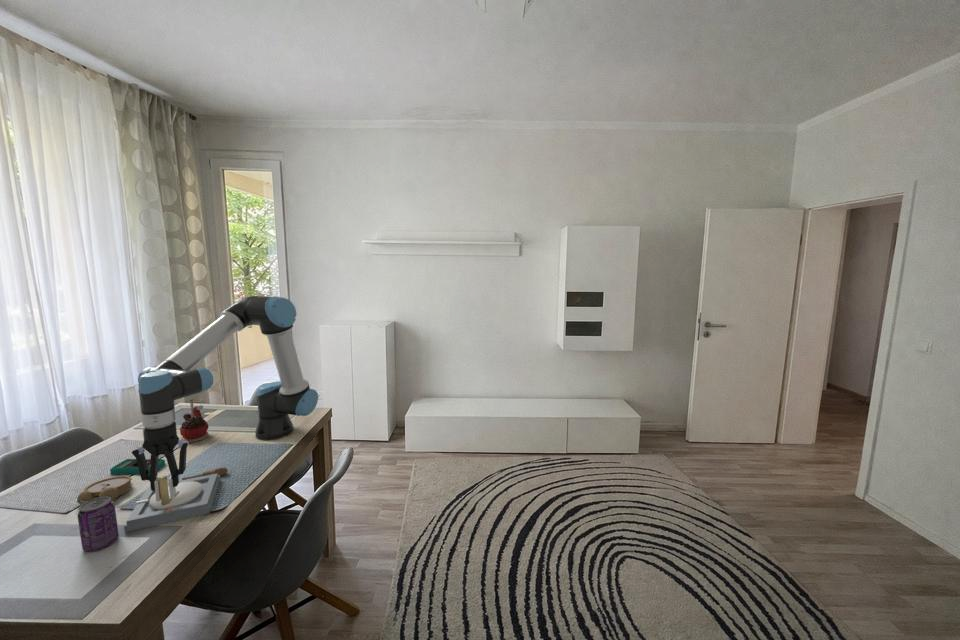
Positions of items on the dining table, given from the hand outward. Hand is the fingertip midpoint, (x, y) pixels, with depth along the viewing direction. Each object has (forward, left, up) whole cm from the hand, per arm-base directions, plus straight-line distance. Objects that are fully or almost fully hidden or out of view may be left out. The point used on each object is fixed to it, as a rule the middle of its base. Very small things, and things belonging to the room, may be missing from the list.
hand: (166, 497), depth 116 cm
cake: (+4, -58, -6) cm, 58 cm away
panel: (-1, -5, -5) cm, 8 cm away
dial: (-1, -5, -3) cm, 6 cm away
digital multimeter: (+17, -37, -6) cm, 41 cm away
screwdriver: (-6, -19, -6) cm, 21 cm away
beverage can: (+13, +8, -6) cm, 16 cm away
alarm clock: (+21, -20, -6) cm, 29 cm away
